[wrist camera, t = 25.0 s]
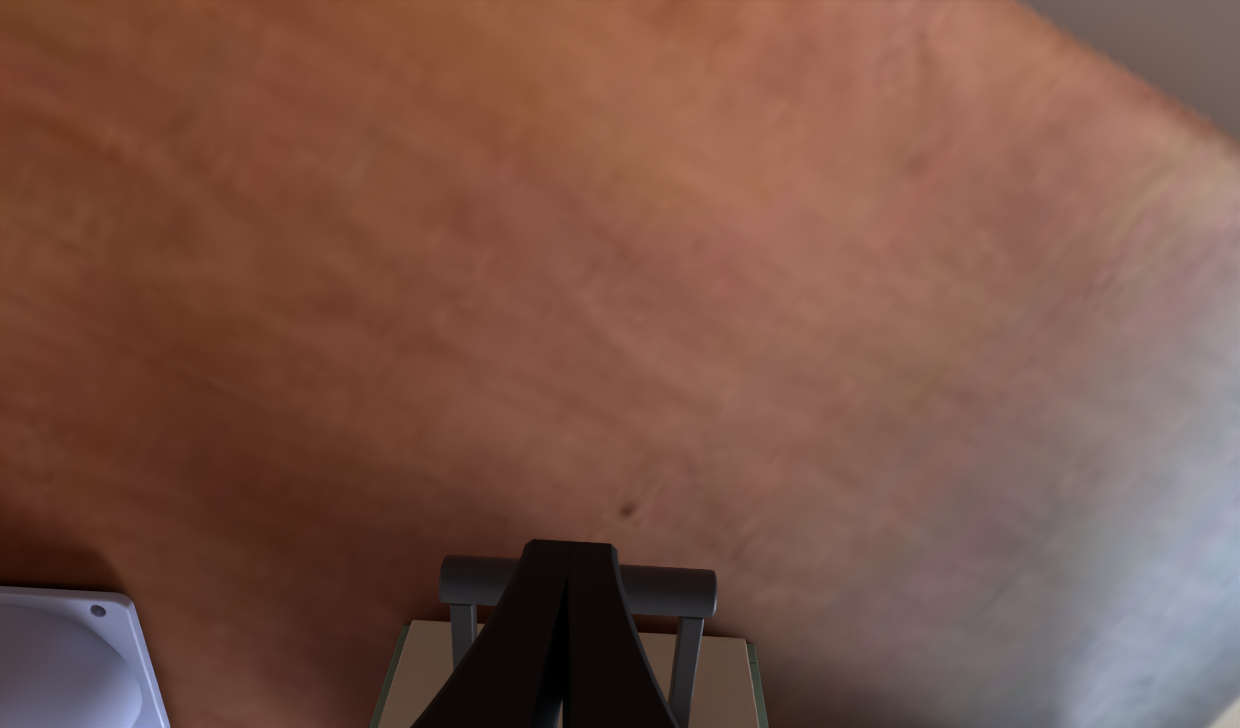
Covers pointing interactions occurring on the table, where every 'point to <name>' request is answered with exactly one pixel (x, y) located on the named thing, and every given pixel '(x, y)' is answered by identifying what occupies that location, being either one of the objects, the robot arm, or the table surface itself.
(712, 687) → the drawer
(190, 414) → the table surface
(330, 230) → the table surface
